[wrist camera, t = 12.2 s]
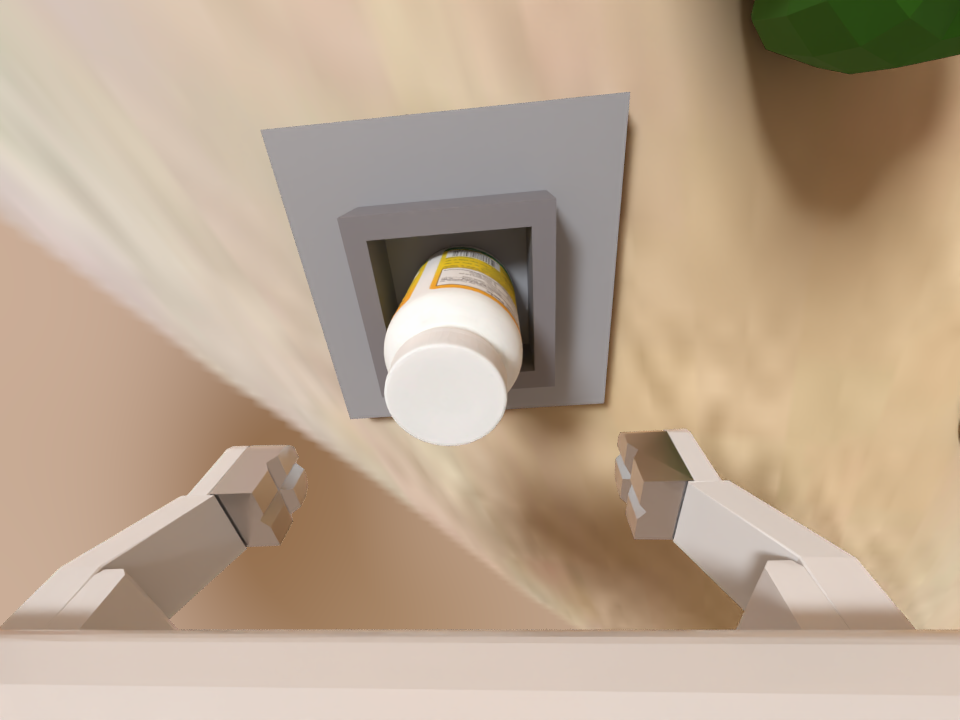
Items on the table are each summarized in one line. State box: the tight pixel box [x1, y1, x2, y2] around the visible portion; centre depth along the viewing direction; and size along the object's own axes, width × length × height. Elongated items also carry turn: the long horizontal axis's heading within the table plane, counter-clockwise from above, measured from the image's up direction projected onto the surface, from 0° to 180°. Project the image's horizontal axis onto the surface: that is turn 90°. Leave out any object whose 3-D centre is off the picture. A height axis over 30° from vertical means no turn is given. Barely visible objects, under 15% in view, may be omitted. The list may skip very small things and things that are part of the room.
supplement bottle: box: [384, 246, 523, 446], centre depth 17 cm, size 5×5×10 cm
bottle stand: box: [261, 92, 630, 419], centre depth 20 cm, size 16×16×4 cm
